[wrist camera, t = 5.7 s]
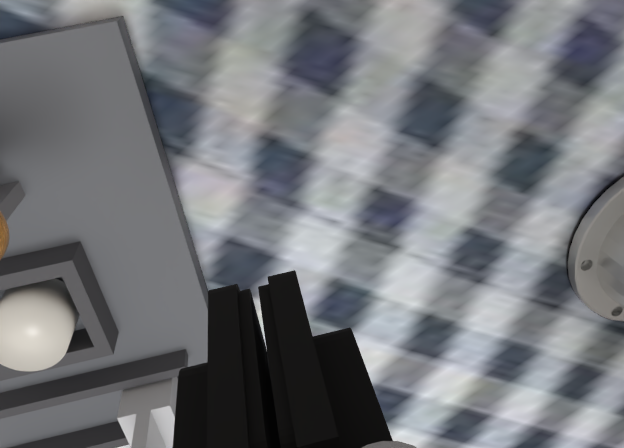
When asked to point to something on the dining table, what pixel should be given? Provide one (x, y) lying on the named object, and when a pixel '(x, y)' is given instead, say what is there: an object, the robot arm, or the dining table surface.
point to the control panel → (92, 233)
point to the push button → (36, 325)
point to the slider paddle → (149, 414)
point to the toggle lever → (3, 235)
